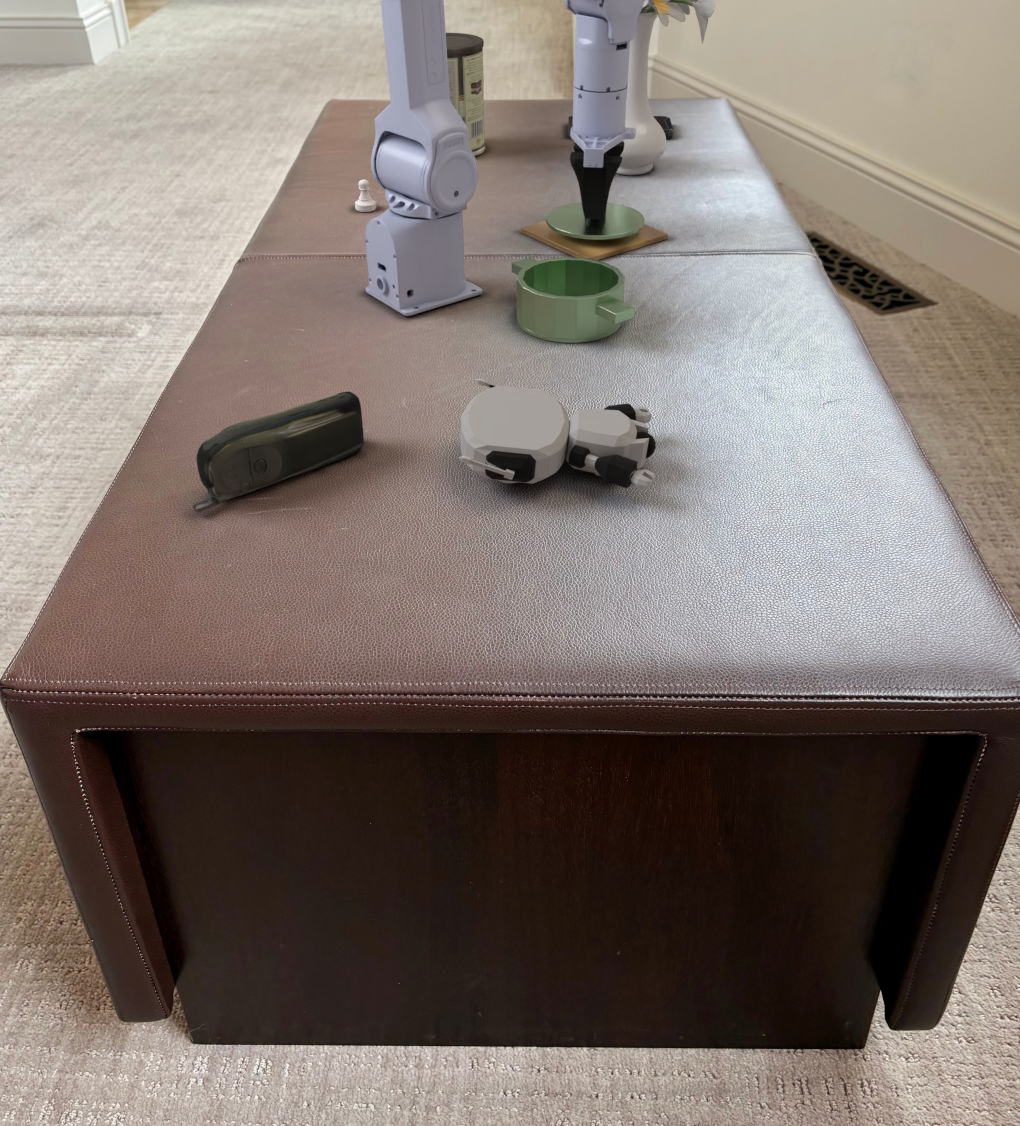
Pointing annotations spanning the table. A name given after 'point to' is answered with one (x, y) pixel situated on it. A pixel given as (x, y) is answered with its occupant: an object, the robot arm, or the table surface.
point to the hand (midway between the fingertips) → (594, 213)
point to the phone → (662, 120)
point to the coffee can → (467, 84)
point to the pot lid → (595, 222)
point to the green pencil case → (279, 447)
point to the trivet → (593, 241)
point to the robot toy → (552, 438)
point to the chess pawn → (364, 198)
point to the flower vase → (638, 111)
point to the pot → (570, 299)
